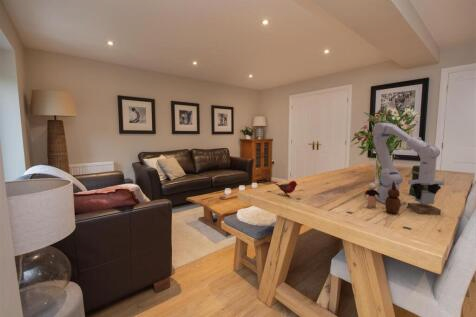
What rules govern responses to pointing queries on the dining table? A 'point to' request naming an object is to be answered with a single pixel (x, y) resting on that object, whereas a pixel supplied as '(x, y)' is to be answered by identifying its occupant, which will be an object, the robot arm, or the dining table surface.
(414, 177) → the coffee jar
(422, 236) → the dining table surface
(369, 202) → the grandmother figurine
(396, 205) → the wooden figurine
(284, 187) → the decorative bird figurine
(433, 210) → the walnut block
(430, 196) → the slate cube
